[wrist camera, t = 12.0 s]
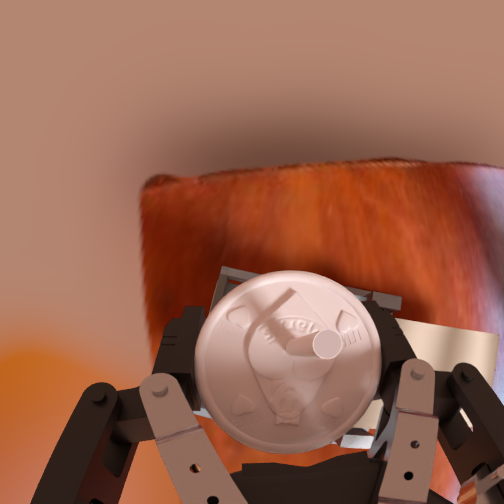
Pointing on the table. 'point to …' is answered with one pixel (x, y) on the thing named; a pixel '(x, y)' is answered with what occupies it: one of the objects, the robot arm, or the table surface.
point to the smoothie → (287, 362)
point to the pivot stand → (391, 305)
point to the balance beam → (419, 337)
